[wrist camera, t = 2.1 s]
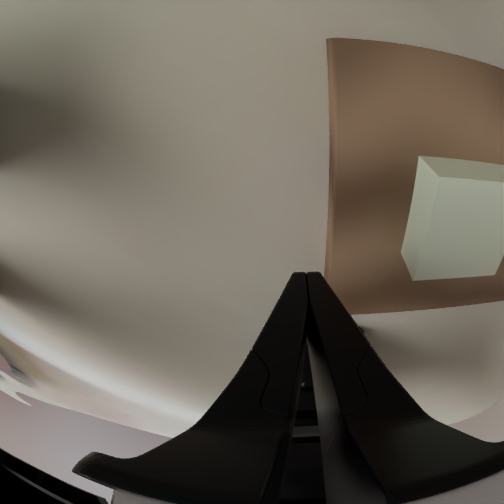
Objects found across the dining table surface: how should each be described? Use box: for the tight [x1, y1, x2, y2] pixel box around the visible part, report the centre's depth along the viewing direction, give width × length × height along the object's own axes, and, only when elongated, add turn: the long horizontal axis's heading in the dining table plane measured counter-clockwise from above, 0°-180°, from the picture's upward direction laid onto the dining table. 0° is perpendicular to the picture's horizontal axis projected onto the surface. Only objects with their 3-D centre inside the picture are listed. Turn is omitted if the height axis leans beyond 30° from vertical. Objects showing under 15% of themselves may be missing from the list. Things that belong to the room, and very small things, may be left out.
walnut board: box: [324, 38, 504, 315], centre depth 13 cm, size 14×14×2 cm
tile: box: [401, 156, 504, 281], centre depth 11 cm, size 5×5×2 cm
